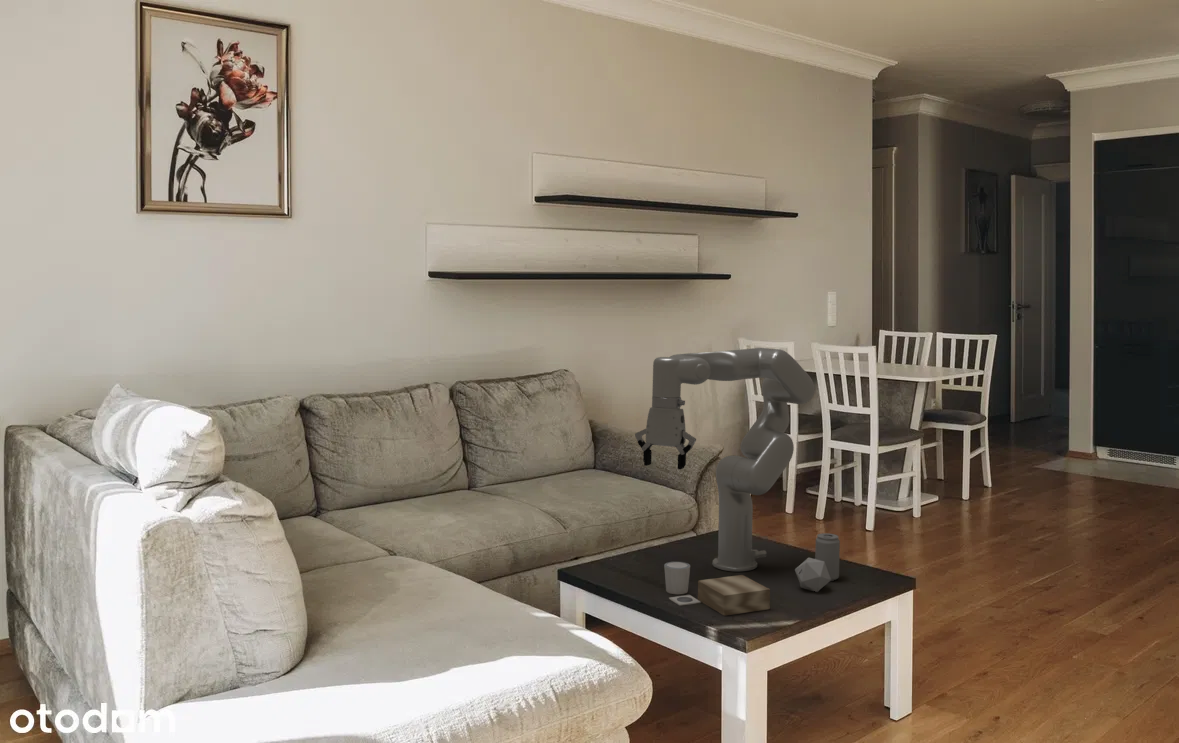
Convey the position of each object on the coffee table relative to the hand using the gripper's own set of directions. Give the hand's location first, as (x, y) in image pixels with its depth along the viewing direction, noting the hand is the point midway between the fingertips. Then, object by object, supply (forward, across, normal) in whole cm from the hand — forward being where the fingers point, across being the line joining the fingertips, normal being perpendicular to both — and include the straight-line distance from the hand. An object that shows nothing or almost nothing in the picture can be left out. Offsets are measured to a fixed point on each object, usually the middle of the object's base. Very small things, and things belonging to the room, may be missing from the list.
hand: (664, 466), depth 261 cm
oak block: (+31, -24, +9) cm, 40 cm away
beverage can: (+31, -39, -24) cm, 55 cm away
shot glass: (+32, -7, +6) cm, 33 cm away
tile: (+31, -12, +12) cm, 36 cm away
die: (+31, -38, -13) cm, 51 cm away
